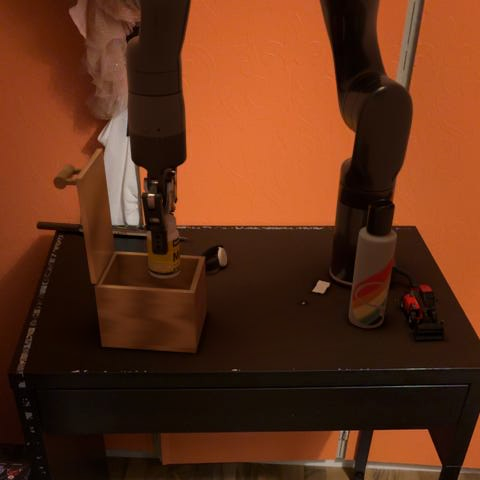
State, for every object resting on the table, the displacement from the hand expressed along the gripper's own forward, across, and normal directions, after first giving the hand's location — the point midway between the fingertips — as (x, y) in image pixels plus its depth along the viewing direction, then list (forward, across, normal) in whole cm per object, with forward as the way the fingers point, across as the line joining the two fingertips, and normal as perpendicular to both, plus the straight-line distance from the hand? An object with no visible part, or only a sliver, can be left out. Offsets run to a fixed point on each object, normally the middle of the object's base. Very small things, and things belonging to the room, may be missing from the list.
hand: (163, 244), depth 108 cm
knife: (+14, +33, +2) cm, 36 cm away
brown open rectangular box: (+15, 0, +2) cm, 15 cm away
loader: (+15, +8, -40) cm, 43 cm away
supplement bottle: (+5, 0, 0) cm, 5 cm away
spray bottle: (+15, +7, -31) cm, 35 cm away
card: (+14, +15, -23) cm, 31 cm away
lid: (-4, 0, +9) cm, 10 cm away
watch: (+15, +23, -4) cm, 28 cm away
